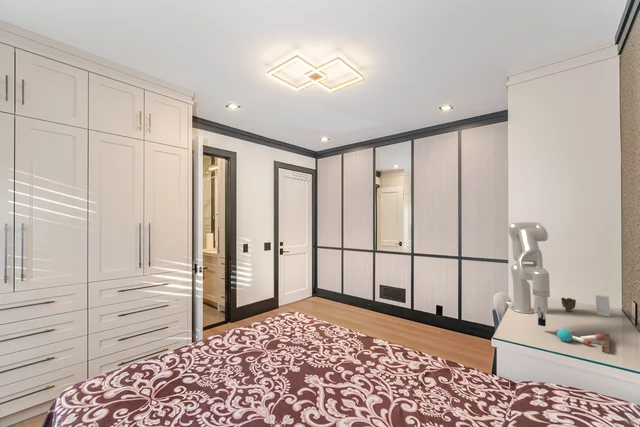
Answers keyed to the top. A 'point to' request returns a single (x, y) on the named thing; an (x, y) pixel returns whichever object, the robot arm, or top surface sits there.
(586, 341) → the pin
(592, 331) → the top surface
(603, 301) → the skincare box
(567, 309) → the cup
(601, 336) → the pin
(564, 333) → the ball
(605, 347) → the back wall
